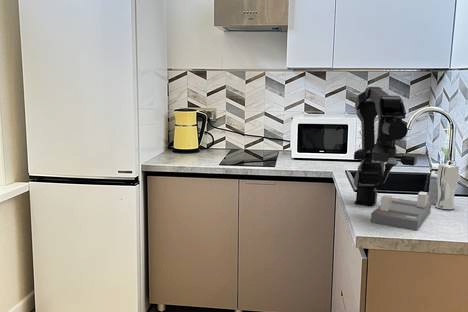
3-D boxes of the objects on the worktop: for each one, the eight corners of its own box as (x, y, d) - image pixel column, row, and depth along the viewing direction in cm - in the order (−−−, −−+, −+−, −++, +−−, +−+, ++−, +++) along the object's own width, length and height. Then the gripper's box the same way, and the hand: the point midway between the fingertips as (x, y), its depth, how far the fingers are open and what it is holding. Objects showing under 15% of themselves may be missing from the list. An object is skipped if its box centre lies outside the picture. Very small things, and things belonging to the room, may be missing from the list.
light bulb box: (428, 197, 180) (431, 170, 178) (447, 199, 177) (450, 171, 175) (427, 203, 170) (430, 175, 169) (447, 206, 168) (450, 177, 166)
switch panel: (370, 222, 147) (371, 212, 146) (389, 205, 167) (389, 197, 166) (417, 230, 140) (417, 220, 139) (430, 211, 160) (431, 203, 159)
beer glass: (445, 205, 169) (449, 164, 168) (459, 209, 163) (464, 167, 161) (429, 205, 167) (433, 164, 166) (443, 210, 161) (447, 167, 159)
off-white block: (416, 206, 154) (418, 193, 153) (419, 204, 158) (420, 191, 157) (424, 207, 153) (425, 195, 152) (426, 205, 156) (427, 192, 156)
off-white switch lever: (380, 210, 149) (381, 197, 148) (383, 207, 152) (384, 194, 151) (387, 211, 148) (388, 198, 147) (390, 208, 151) (391, 195, 150)
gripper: (350, 135, 144) (347, 184, 147) (413, 141, 135) (408, 192, 138) (360, 132, 154) (356, 177, 156) (419, 137, 144) (415, 185, 147)
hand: (382, 183), depth 149 cm, fingers closed
